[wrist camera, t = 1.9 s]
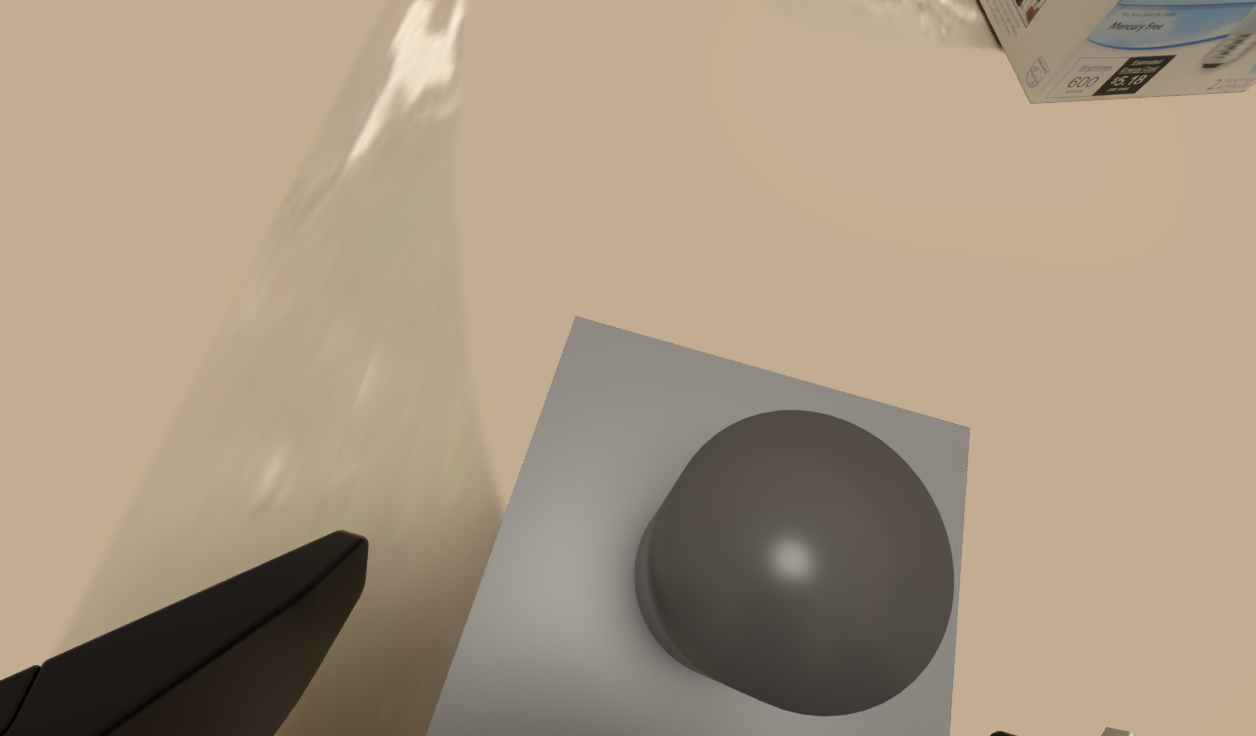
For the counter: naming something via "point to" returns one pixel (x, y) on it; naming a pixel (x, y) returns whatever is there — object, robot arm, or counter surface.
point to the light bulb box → (1126, 47)
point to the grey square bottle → (715, 559)
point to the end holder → (1116, 732)
